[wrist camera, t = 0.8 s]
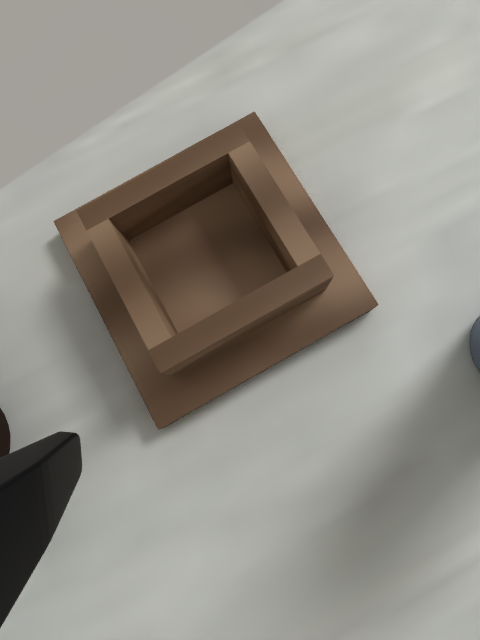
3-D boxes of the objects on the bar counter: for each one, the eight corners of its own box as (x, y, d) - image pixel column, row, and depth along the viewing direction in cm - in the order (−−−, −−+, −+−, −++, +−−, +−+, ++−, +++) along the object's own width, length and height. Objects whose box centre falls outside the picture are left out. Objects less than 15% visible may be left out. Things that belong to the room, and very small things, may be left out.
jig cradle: (372, 309, 23) (396, 291, 19) (164, 427, 22) (141, 436, 18) (255, 124, 25) (253, 72, 21) (63, 229, 25) (22, 197, 20)
